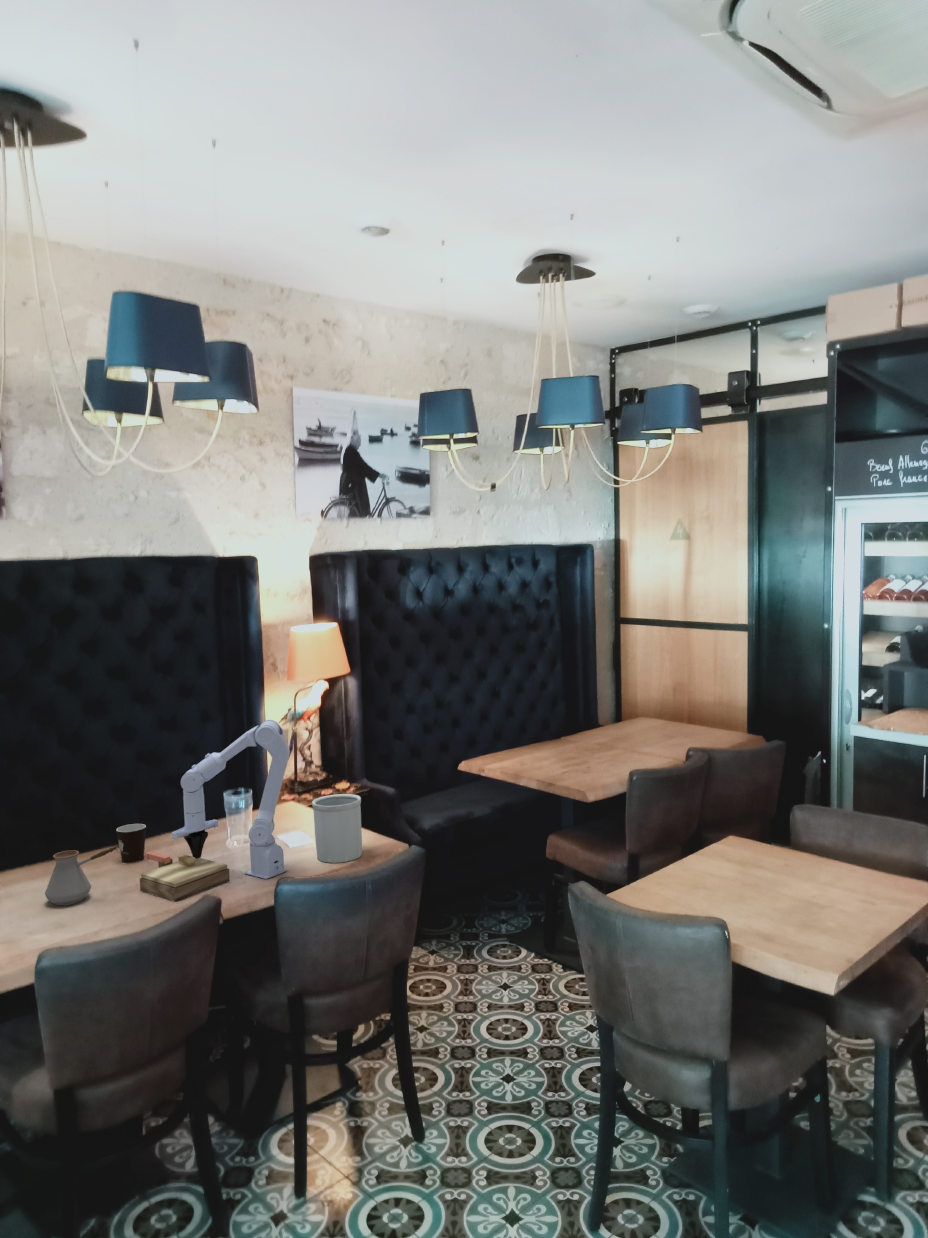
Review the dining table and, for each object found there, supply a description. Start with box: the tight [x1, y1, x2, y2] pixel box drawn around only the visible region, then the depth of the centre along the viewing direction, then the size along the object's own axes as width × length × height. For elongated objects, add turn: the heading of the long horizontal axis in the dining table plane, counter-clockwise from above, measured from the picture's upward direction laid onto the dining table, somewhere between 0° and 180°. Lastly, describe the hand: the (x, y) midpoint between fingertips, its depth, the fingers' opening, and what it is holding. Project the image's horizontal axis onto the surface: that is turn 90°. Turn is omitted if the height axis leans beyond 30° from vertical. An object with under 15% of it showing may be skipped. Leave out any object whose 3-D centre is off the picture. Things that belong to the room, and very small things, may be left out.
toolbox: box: [139, 857, 230, 902], centre depth 244 cm, size 18×18×6 cm
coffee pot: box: [44, 845, 122, 906], centre depth 235 cm, size 21×12×15 cm, turn 84°
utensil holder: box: [311, 793, 363, 864], centre depth 265 cm, size 15×15×18 cm
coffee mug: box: [116, 823, 147, 864], centre depth 270 cm, size 12×9×10 cm
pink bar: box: [144, 850, 171, 864], centre depth 251 cm, size 9×2×2 cm, turn 54°
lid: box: [140, 854, 228, 887], centre depth 244 cm, size 15×17×3 cm
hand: (196, 857), depth 251 cm, fingers closed
